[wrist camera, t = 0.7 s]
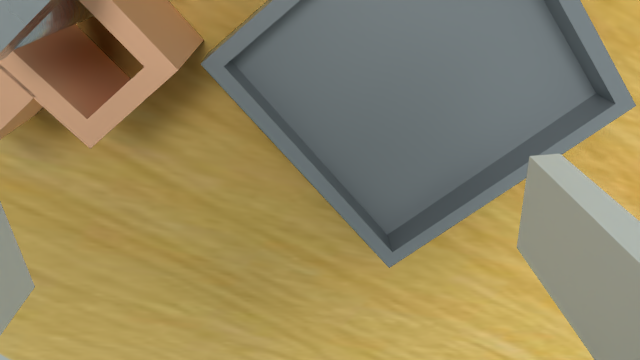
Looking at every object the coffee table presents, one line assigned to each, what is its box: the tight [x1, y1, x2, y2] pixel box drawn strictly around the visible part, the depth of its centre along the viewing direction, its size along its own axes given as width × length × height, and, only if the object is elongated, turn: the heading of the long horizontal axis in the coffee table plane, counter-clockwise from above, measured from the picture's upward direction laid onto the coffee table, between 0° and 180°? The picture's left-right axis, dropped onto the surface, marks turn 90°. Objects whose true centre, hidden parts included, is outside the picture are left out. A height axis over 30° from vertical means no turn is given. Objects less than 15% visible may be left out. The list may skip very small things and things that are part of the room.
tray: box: [201, 0, 636, 268], centre depth 33 cm, size 20×20×3 cm
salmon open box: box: [0, 0, 203, 148], centre depth 29 cm, size 12×13×8 cm
